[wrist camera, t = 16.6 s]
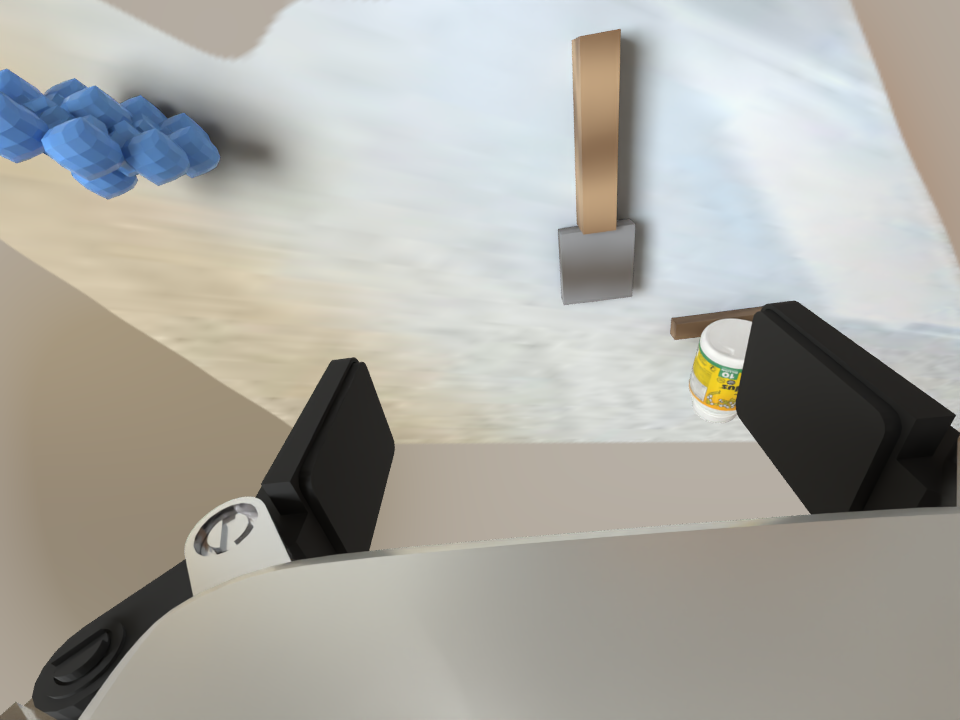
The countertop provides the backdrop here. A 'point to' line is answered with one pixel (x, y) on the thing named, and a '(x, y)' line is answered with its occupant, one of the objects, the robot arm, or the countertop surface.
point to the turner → (596, 180)
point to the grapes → (100, 135)
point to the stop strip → (706, 322)
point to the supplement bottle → (719, 369)
